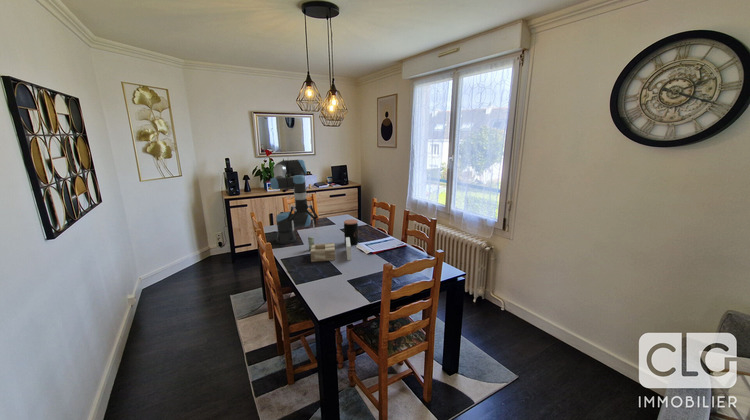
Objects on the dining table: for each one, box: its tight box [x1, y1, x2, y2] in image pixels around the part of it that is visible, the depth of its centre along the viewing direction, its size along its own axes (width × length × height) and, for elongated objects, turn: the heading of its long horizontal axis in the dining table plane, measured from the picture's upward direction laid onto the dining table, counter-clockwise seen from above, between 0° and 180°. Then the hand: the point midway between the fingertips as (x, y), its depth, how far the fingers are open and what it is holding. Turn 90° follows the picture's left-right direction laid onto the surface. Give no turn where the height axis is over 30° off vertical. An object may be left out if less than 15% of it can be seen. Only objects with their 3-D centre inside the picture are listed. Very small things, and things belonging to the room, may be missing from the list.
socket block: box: [309, 242, 336, 263], centre depth 203 cm, size 14×16×7 cm
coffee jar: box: [343, 219, 360, 246], centre depth 225 cm, size 11×11×18 cm
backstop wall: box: [345, 237, 352, 261], centre depth 204 cm, size 18×3×10 cm, turn 8°
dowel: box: [307, 236, 315, 252], centre depth 215 cm, size 4×4×10 cm
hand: (303, 229), depth 197 cm, fingers open, 13 cm apart
